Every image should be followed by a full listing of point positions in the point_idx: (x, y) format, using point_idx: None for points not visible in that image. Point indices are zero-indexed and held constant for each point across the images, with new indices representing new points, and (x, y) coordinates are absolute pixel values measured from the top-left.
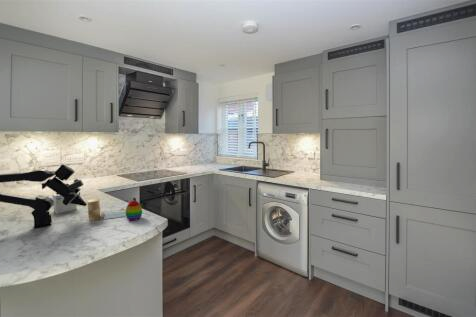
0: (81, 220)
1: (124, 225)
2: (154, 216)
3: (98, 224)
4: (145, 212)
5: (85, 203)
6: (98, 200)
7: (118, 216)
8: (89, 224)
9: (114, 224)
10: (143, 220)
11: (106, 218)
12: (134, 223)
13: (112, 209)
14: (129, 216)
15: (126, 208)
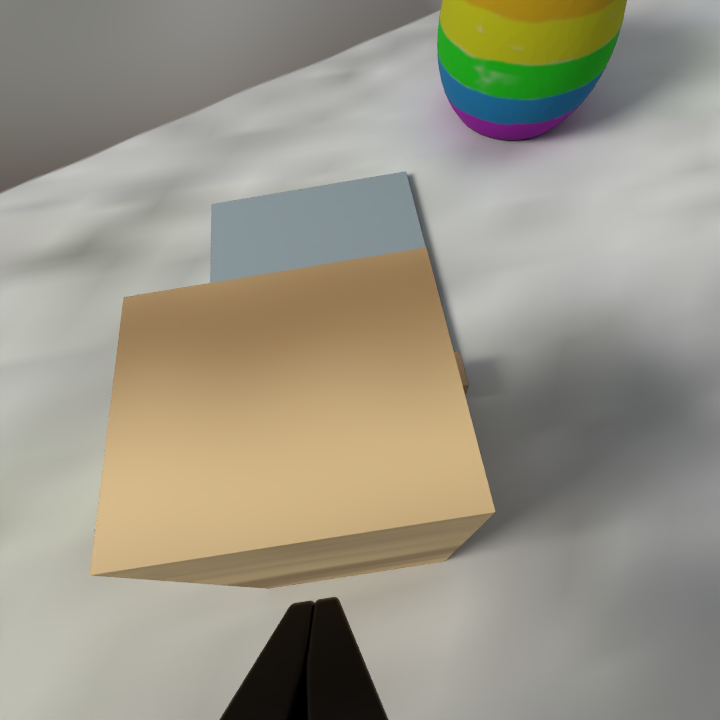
0: (387, 703)
1: (709, 141)
2: None
3: (650, 381)
4: (326, 68)
5: (347, 630)
6: (355, 259)
7: (395, 231)
8: (636, 500)
9: (668, 222)
10: None
11: None
12: (654, 87)
13: (2, 361)
14: (599, 77)
15: (585, 8)
